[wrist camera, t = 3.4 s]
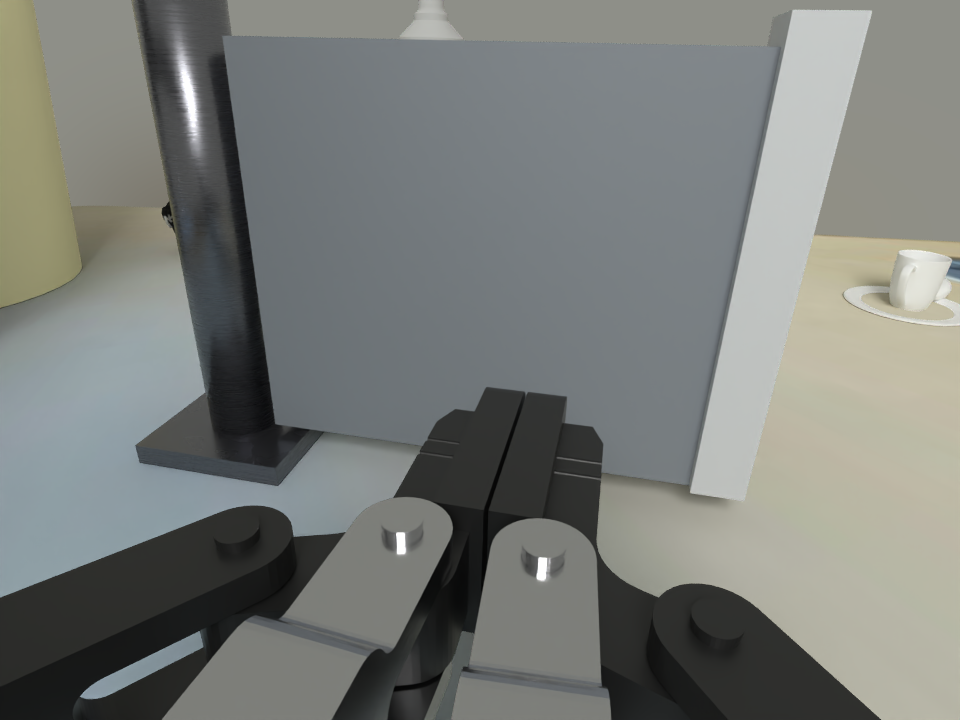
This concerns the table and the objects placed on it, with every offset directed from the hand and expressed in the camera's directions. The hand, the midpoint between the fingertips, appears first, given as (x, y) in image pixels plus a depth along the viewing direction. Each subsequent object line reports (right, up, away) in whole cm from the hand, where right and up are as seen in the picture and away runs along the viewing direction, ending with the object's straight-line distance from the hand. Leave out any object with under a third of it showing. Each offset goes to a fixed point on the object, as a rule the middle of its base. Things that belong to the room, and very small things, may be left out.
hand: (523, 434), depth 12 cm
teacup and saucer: (+33, +4, +32) cm, 46 cm away
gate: (0, -2, +12) cm, 13 cm away
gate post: (-11, -2, +15) cm, 19 cm away
